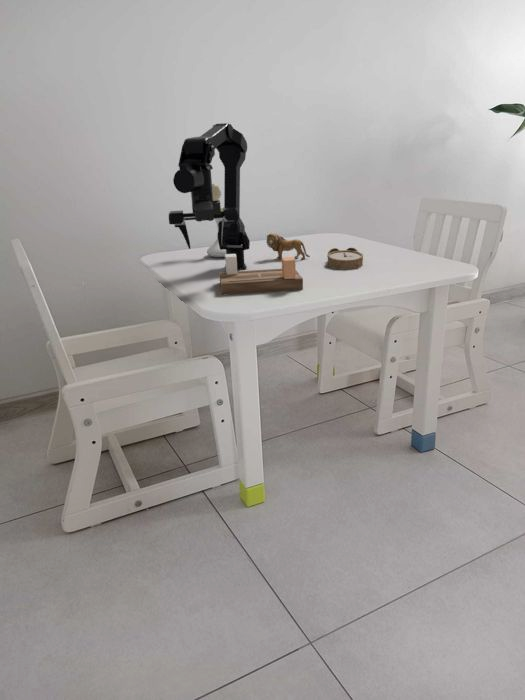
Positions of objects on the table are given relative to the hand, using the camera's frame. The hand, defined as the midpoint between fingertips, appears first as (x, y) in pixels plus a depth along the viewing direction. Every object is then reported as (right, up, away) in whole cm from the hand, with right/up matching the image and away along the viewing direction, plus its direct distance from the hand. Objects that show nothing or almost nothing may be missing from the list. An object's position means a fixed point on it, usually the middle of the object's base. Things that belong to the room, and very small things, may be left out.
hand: (206, 247), depth 141 cm
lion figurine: (+24, +2, +33) cm, 41 cm away
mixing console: (+15, -10, +2) cm, 18 cm away
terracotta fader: (+23, -9, -3) cm, 25 cm away
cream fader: (+7, -6, +4) cm, 10 cm away
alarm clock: (+42, -1, +24) cm, 48 cm away
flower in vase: (+1, +5, +42) cm, 42 cm away
